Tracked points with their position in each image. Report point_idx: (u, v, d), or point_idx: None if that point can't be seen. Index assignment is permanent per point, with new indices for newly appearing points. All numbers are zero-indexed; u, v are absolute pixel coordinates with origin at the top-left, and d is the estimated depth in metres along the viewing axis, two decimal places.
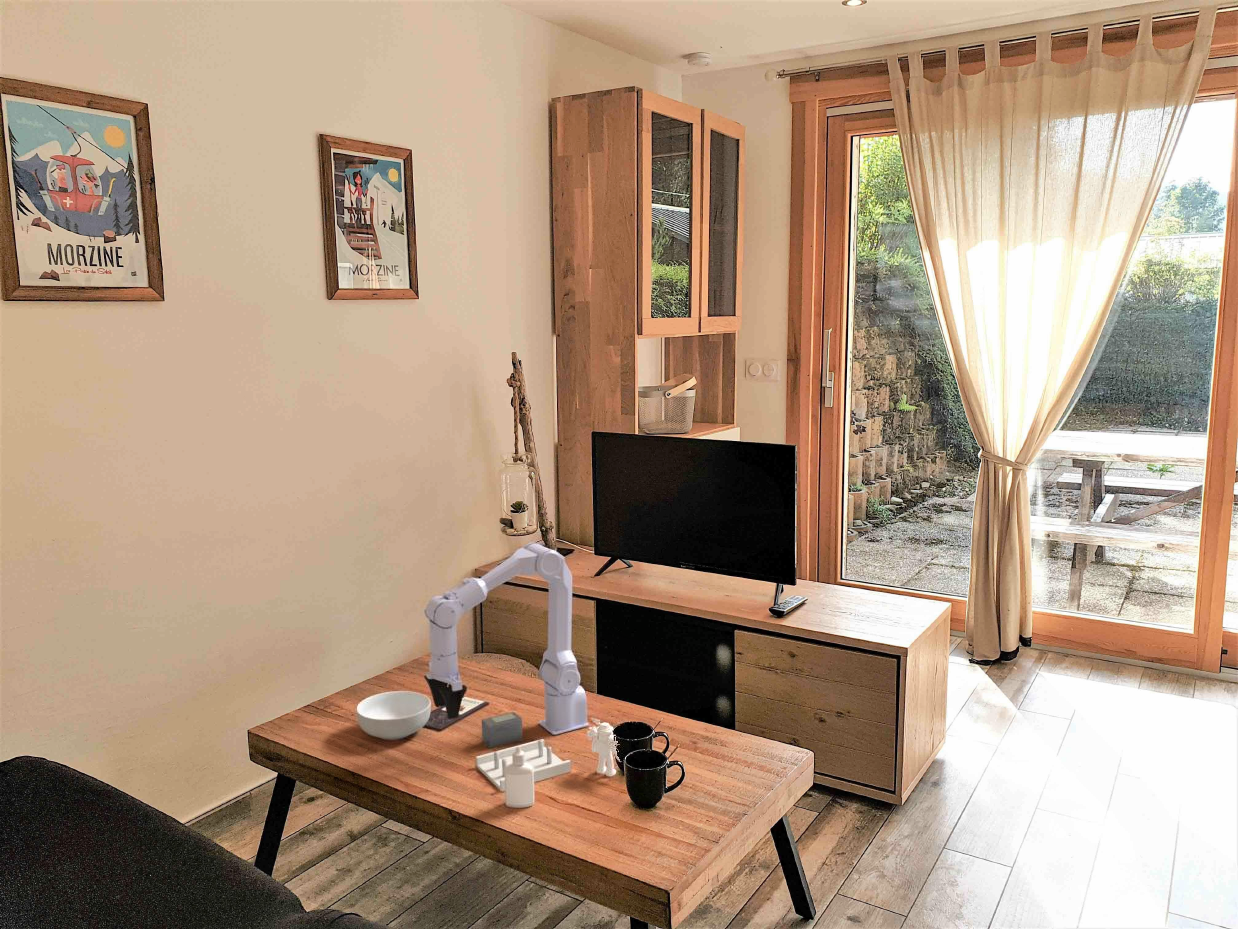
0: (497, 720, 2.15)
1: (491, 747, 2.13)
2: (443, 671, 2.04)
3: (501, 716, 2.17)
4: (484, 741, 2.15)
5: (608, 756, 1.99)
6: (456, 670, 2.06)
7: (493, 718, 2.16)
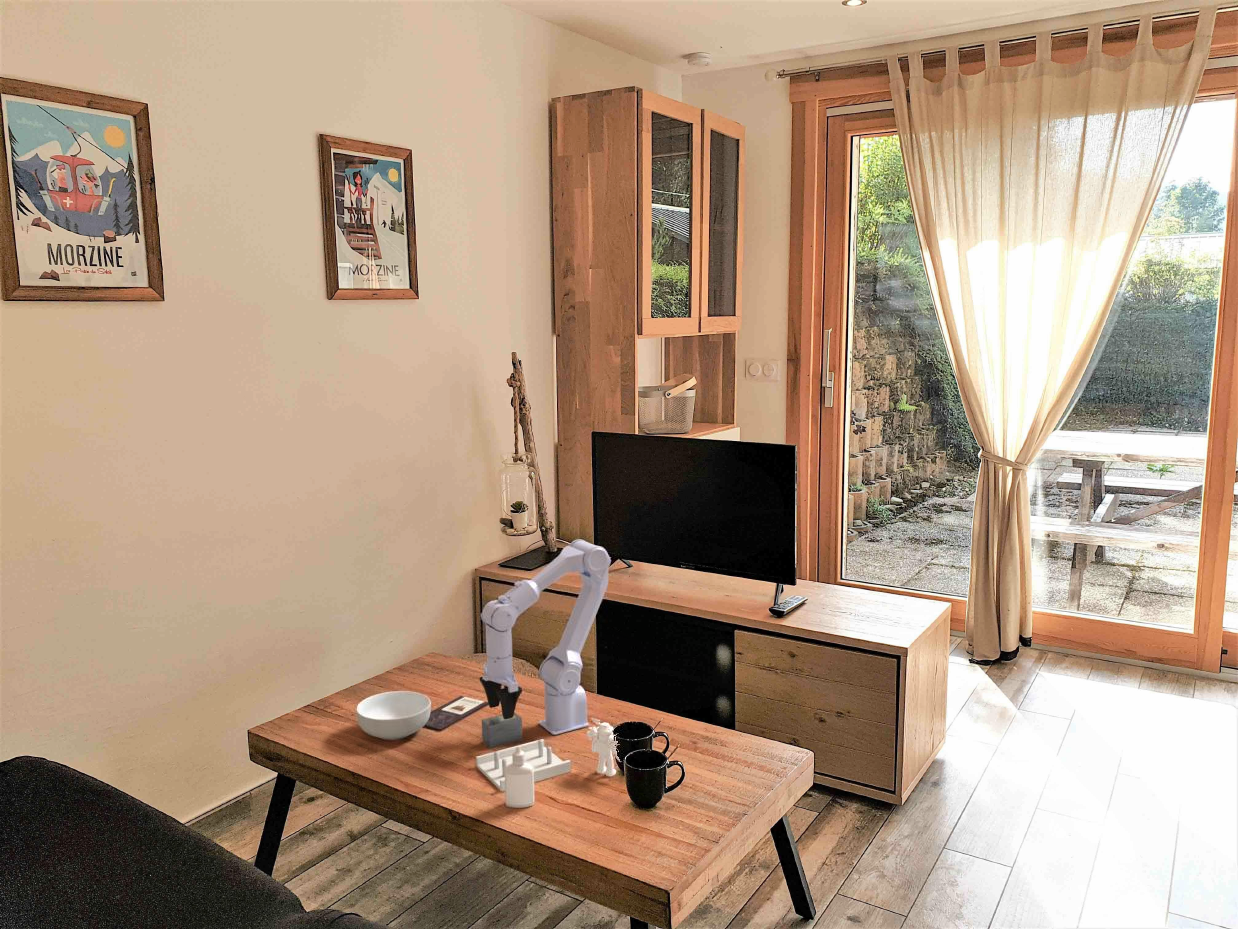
0: (497, 720, 2.15)
1: (491, 747, 2.13)
2: (499, 673, 2.11)
3: (501, 716, 2.17)
4: (484, 741, 2.15)
5: (608, 756, 1.99)
6: (511, 672, 2.13)
7: (493, 718, 2.16)
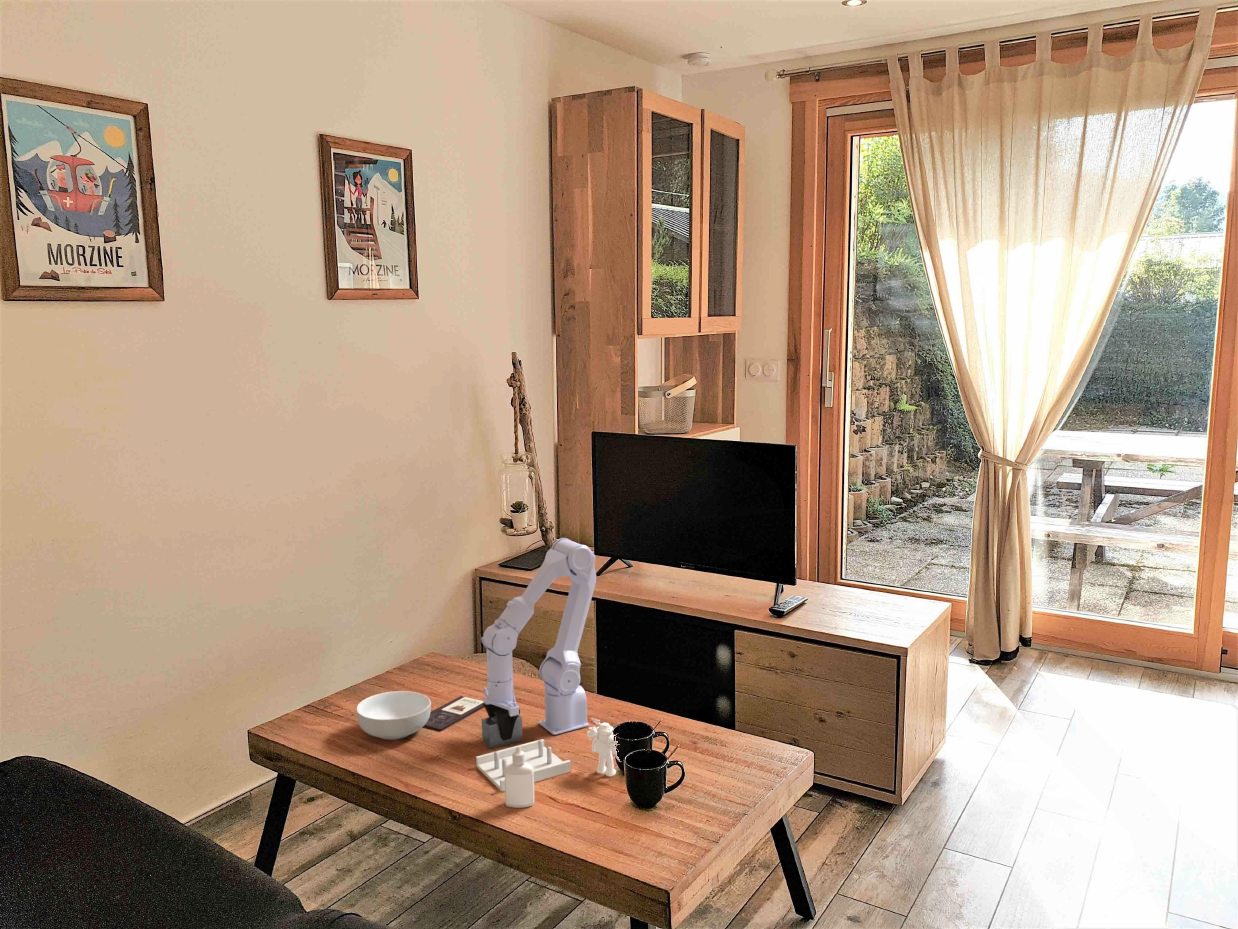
0: None
1: (491, 746, 2.13)
2: (500, 697, 2.12)
3: None
4: (484, 740, 2.15)
5: (608, 756, 1.99)
6: (512, 695, 2.14)
7: (493, 717, 2.16)
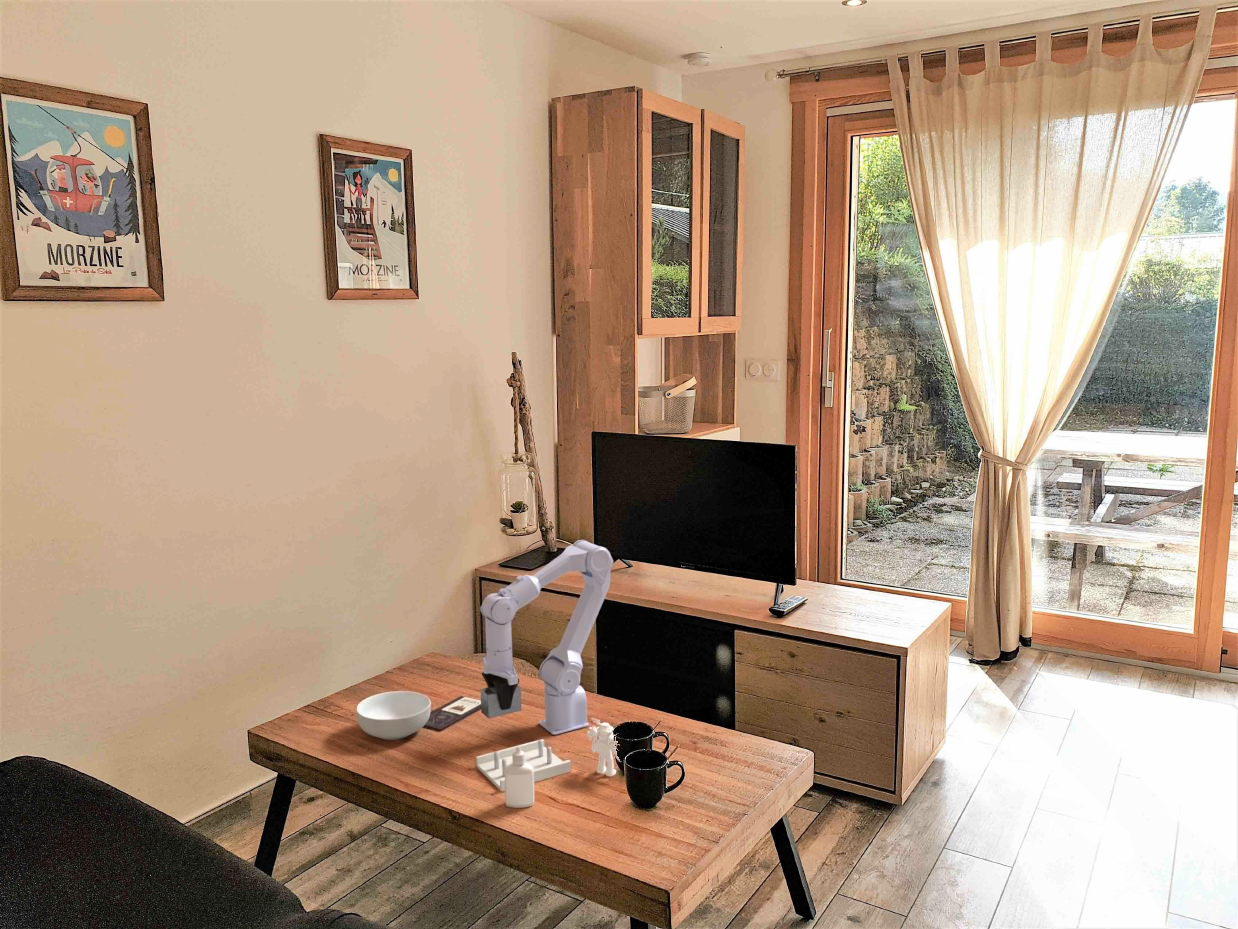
0: (496, 689, 2.14)
1: (490, 716, 2.12)
2: (499, 666, 2.11)
3: None
4: (483, 710, 2.14)
5: (608, 756, 1.99)
6: (511, 665, 2.13)
7: (492, 687, 2.15)
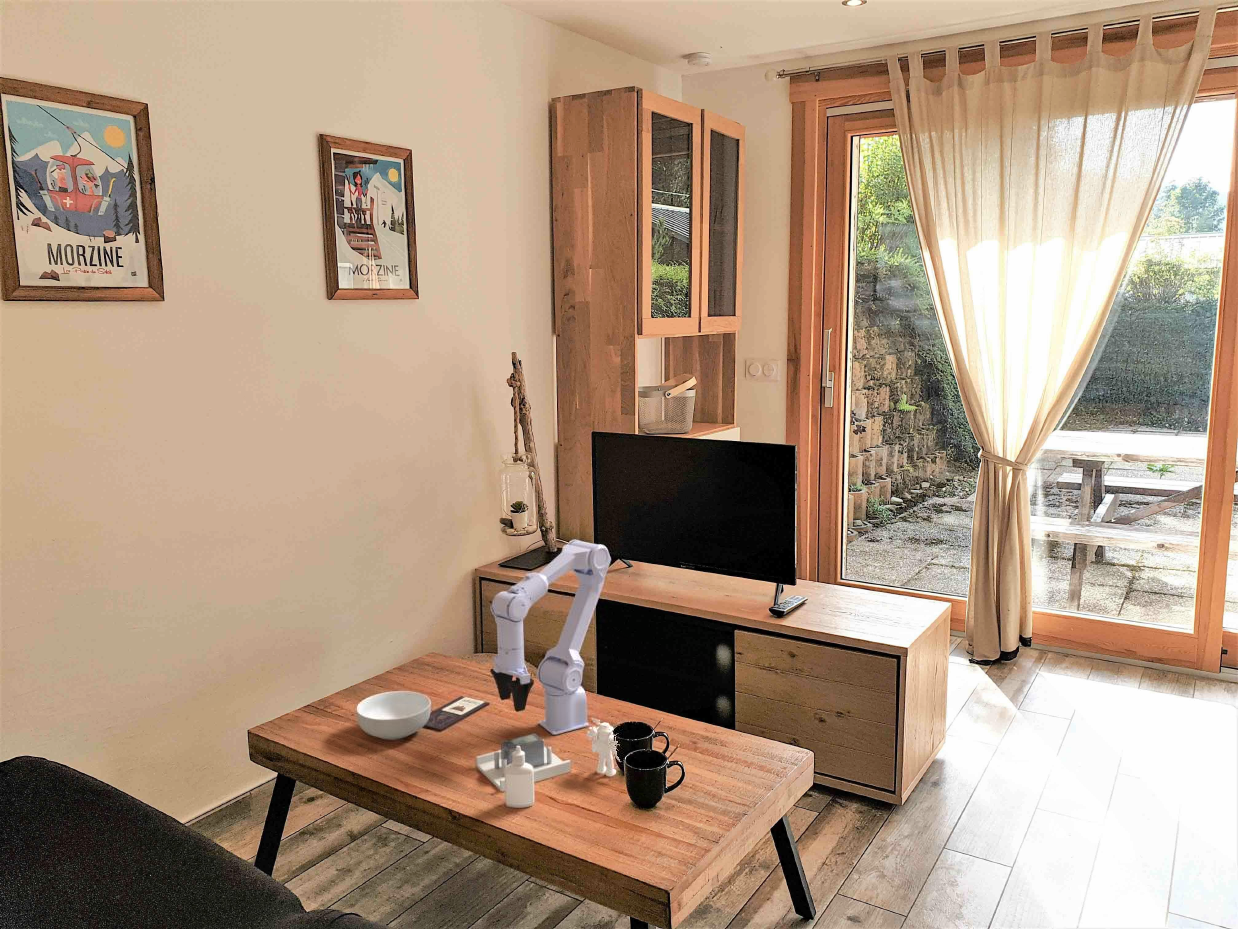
0: (517, 743, 2.01)
1: None
2: (511, 665, 2.08)
3: (521, 738, 2.03)
4: None
5: (608, 756, 1.99)
6: (523, 664, 2.10)
7: (513, 740, 2.02)
